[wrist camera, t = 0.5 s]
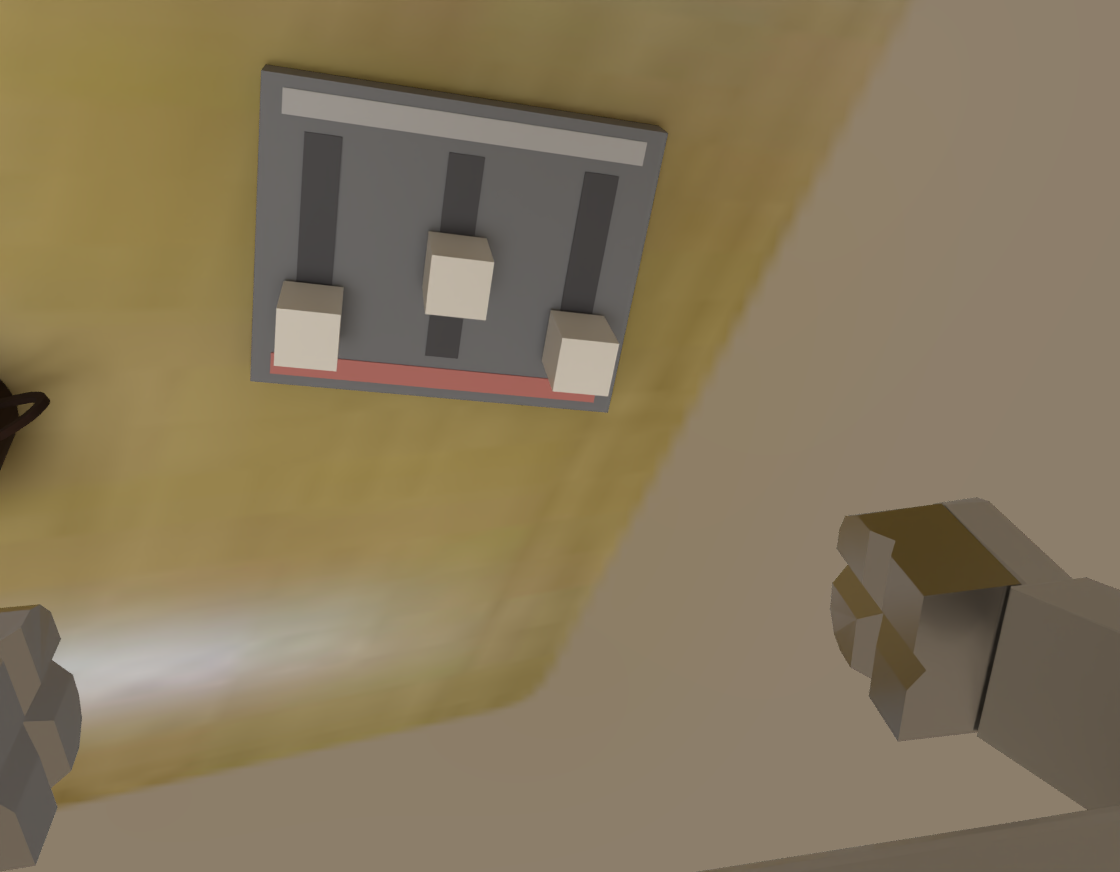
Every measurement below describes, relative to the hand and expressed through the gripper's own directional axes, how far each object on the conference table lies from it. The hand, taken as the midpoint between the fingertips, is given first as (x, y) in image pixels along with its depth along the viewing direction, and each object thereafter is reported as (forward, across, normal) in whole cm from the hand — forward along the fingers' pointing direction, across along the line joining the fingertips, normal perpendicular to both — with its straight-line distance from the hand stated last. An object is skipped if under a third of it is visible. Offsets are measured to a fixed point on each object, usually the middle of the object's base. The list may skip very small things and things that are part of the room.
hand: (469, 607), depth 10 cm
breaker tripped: (+42, -2, +9) cm, 43 cm away
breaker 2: (+41, -8, +14) cm, 44 cm away
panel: (+44, -2, +9) cm, 45 cm away
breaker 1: (+42, +6, +11) cm, 43 cm away
